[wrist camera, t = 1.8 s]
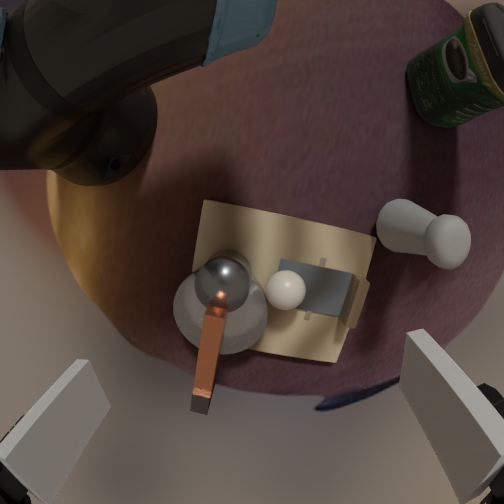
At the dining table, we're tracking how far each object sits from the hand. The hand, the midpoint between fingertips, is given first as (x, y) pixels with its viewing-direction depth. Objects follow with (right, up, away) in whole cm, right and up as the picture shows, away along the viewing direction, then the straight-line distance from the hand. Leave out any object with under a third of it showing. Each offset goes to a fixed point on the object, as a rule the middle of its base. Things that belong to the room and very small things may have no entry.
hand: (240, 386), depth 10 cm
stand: (+3, +1, +22) cm, 22 cm away
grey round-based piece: (-3, -2, +22) cm, 22 cm away
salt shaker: (+16, +8, +20) cm, 27 cm away
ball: (+4, +2, +21) cm, 21 cm away
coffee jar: (+23, +25, +16) cm, 38 cm away
